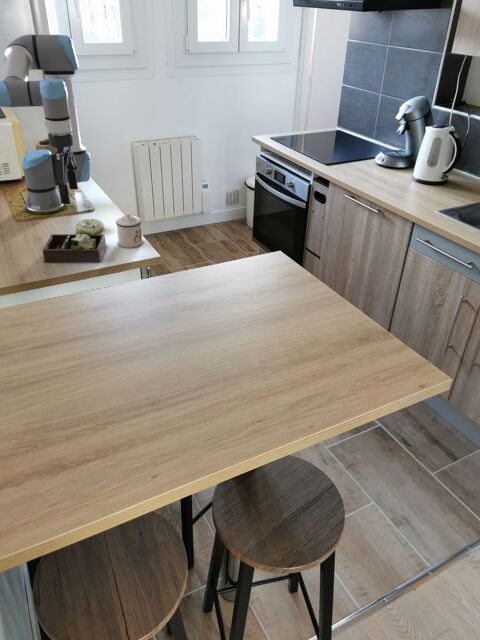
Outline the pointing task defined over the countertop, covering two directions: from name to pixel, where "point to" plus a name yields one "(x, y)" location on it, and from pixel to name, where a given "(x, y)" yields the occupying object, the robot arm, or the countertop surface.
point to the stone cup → (45, 146)
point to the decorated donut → (89, 226)
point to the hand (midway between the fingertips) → (70, 196)
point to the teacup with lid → (129, 231)
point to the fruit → (83, 242)
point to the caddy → (62, 252)
